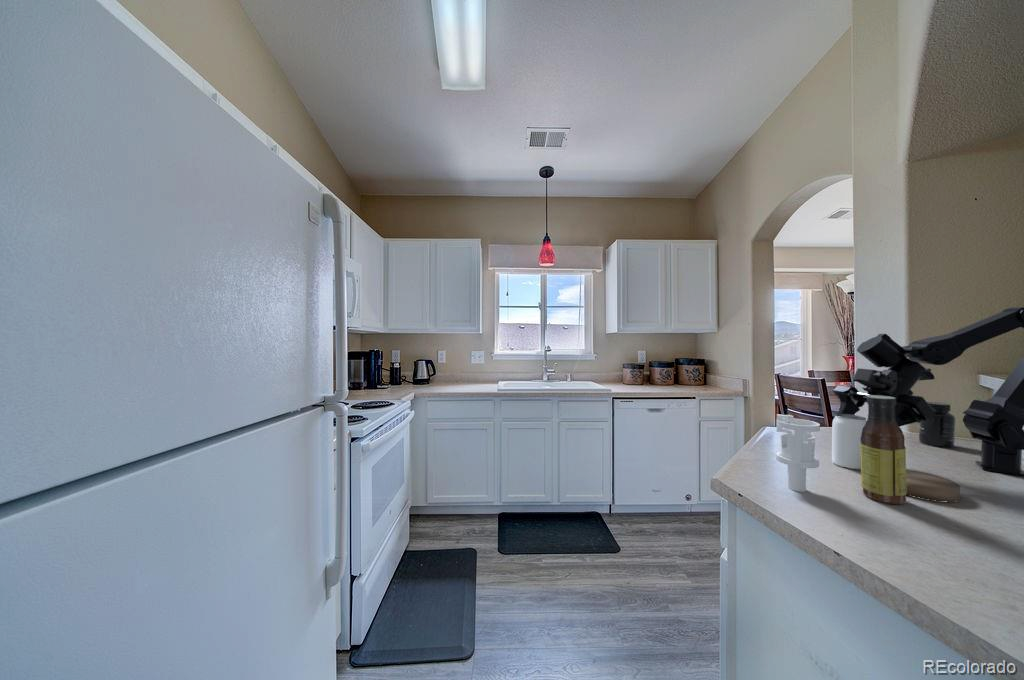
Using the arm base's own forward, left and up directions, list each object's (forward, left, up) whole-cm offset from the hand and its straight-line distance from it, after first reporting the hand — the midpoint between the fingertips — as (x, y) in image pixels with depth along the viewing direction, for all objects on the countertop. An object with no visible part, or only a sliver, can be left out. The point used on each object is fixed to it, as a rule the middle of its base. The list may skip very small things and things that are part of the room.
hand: (857, 426), depth 90 cm
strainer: (+27, -10, -10) cm, 30 cm away
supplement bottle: (-37, +19, -10) cm, 43 cm away
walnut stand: (+12, +9, -9) cm, 17 cm away
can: (+2, -1, -10) cm, 10 cm away
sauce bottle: (+22, +3, -10) cm, 24 cm away
